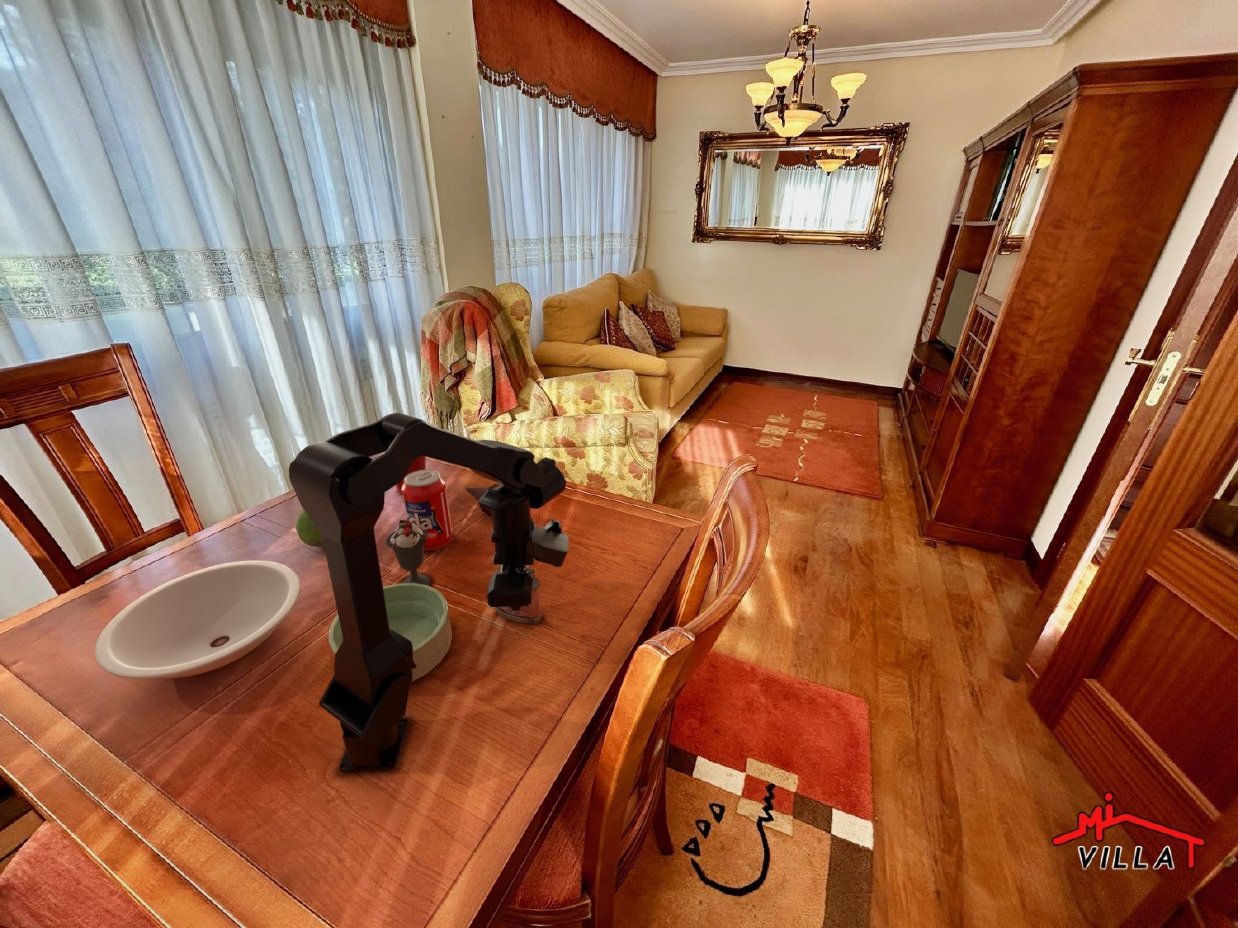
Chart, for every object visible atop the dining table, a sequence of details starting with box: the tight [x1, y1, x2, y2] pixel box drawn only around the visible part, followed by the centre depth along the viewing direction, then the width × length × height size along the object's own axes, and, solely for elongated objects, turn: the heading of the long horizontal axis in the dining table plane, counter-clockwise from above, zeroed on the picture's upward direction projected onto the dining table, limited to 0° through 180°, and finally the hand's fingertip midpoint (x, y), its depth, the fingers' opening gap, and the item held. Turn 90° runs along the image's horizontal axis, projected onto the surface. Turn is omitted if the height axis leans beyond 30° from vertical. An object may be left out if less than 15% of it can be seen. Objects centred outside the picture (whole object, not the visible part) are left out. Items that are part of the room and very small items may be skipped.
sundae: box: [385, 517, 431, 586], centre depth 87 cm, size 7×7×15 cm
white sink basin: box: [94, 559, 301, 680], centre depth 75 cm, size 24×24×7 cm
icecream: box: [465, 483, 501, 515], centre depth 111 cm, size 7×7×15 cm
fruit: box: [295, 508, 324, 549], centre depth 100 cm, size 15×10×10 cm, turn 163°
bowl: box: [328, 582, 453, 683], centre depth 76 cm, size 16×16×6 cm
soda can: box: [402, 469, 453, 551], centre depth 98 cm, size 8×8×15 cm
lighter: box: [492, 564, 542, 624], centre depth 82 cm, size 8×3×10 cm, turn 71°
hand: (517, 601), depth 83 cm, fingers closed on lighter, 4 cm apart
